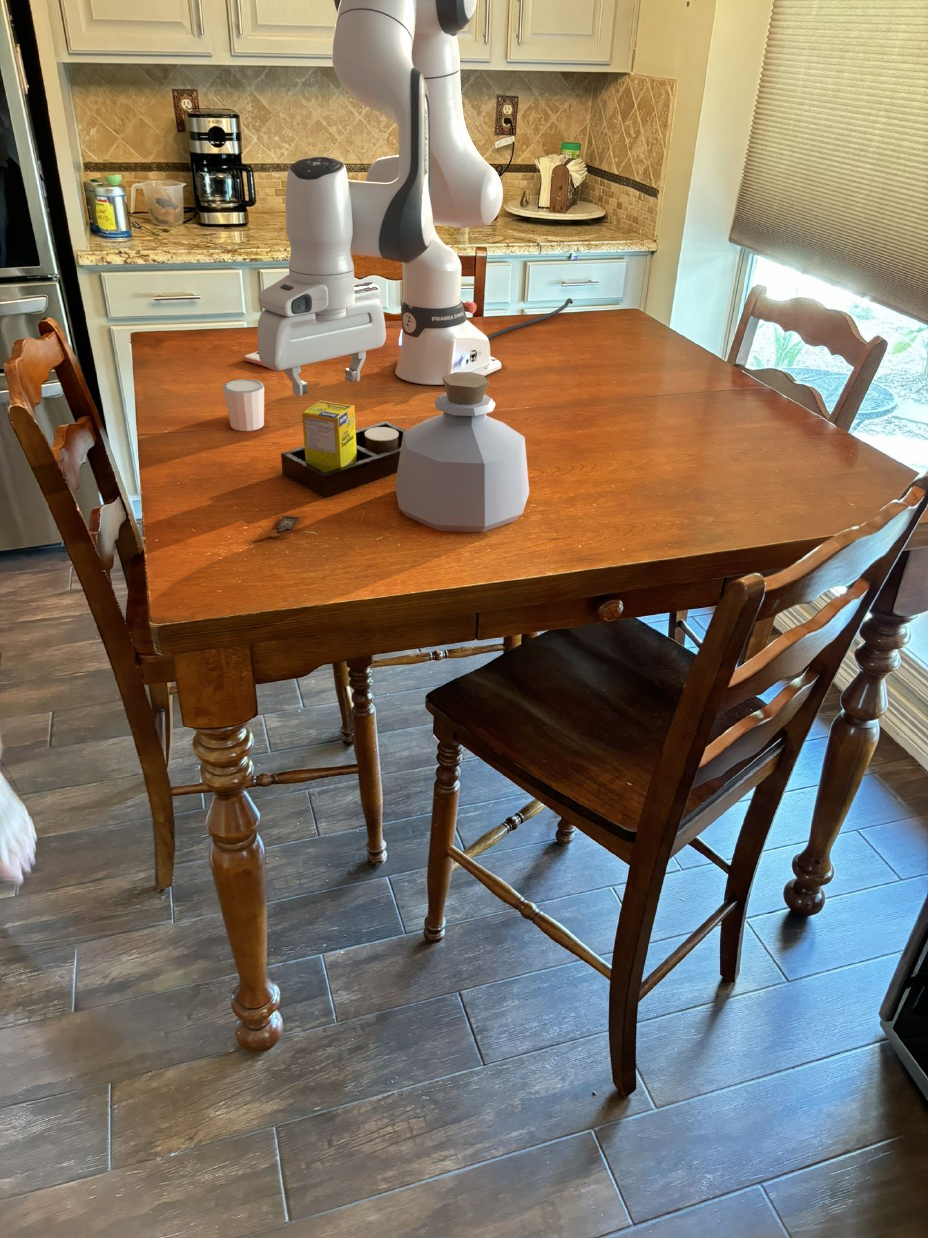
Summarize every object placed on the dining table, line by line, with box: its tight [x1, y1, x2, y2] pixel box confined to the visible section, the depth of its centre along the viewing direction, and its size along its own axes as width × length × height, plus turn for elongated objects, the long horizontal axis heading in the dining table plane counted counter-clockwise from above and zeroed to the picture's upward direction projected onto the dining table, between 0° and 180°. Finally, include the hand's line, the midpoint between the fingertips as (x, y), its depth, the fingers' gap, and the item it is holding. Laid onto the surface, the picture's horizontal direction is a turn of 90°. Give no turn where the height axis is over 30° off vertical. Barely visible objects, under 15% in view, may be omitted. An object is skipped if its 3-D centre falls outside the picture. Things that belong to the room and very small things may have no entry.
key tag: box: [255, 515, 299, 542], centre depth 125 cm, size 8×3×1 cm, turn 159°
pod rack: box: [280, 420, 407, 499], centre depth 143 cm, size 21×11×4 cm, turn 134°
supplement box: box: [301, 399, 357, 472], centre depth 138 cm, size 6×6×11 cm
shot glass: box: [222, 378, 265, 432], centre depth 155 cm, size 7×7×7 cm
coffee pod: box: [365, 427, 399, 455], centre depth 146 cm, size 5×5×4 cm
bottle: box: [394, 372, 530, 533], centre depth 129 cm, size 20×20×19 cm
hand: (327, 387), depth 133 cm, fingers open, 8 cm apart
